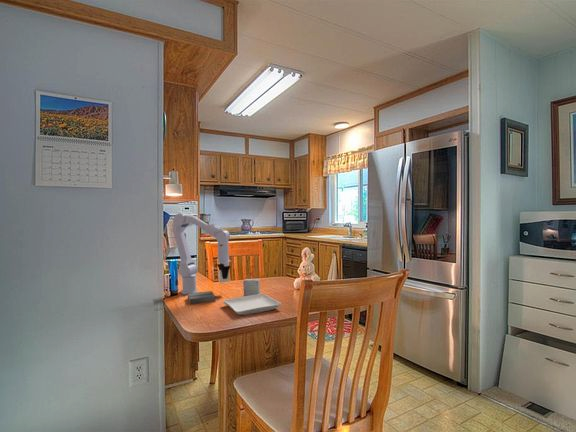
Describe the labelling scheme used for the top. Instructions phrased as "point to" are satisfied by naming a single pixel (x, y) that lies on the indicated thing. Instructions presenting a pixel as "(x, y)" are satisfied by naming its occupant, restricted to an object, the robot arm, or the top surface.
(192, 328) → the top surface
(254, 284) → the medicine box
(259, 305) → the salad plate
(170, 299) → the top surface
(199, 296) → the slate panel
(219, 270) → the cream block
